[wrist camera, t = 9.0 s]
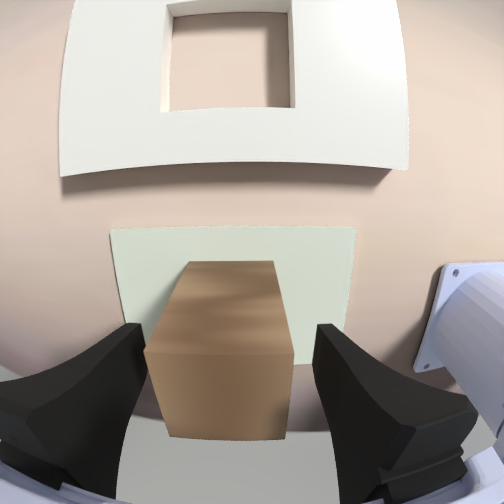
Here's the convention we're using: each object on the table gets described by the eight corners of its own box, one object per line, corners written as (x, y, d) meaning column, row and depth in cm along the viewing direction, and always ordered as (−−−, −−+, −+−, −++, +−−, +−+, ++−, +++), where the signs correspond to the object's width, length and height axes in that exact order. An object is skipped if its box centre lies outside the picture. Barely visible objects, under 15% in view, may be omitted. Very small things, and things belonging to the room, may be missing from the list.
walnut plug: (273, 260, 14) (294, 353, 7) (271, 331, 15) (285, 439, 8) (188, 261, 14) (143, 351, 7) (196, 331, 15) (169, 436, 8)
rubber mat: (353, 226, 14) (356, 228, 13) (335, 357, 16) (337, 361, 16) (113, 228, 14) (109, 230, 13) (137, 356, 16) (135, 360, 16)
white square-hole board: (381, -2, 10) (392, -14, 8) (393, 168, 13) (408, 170, 11) (87, 7, 9) (75, -2, 8) (76, 173, 13) (60, 176, 11)
